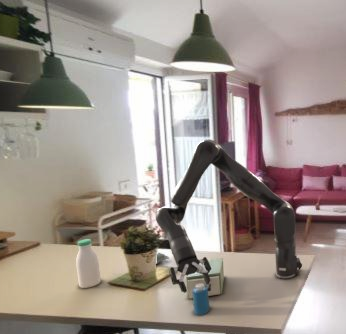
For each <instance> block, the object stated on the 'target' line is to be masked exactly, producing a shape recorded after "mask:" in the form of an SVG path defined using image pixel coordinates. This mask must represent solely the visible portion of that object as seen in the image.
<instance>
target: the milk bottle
mask: <svg viewBox="0 0 346 334" xmlns="http://www.w3.org/2000/svg"><path fill="white" fill-rule="evenodd" d="M77 247H78V253H77V255H76V259H75V265H76V273H77V280H78V286H79V287H80V288H82V289H86V288H87V289H88V288H92V287H95V286H97V285H99V284H100V283H101V281H102V276H101V270H100V263H99V257H98V255H97V253H96V251H95V250H94V249H93V247H92V240H91V239H90V238H86V239H82V240H81V239H80V240H79V241H77Z"/></svg>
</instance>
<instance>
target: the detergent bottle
mask: <svg viewBox="0 0 346 334" xmlns="http://www.w3.org/2000/svg"><path fill="white" fill-rule="evenodd" d="M192 300H193V312H194V314H195V316H202V315H206V314H208V312H209V311H210V299H209V296H208V287H207V286H204V284H203V283H200V284H197V285H196V287H195V288H194V289H193V298H192Z"/></svg>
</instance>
